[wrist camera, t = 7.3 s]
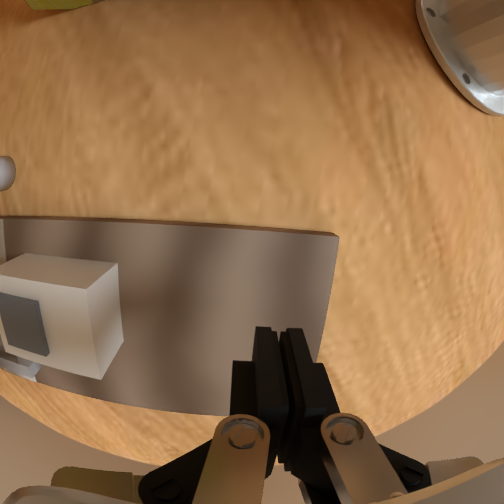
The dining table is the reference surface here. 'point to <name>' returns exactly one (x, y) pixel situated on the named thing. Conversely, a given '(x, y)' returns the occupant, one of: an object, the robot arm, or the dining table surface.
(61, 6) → the toy
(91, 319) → the block
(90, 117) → the dining table surface
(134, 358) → the panel
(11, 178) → the tan rounded cylinder
